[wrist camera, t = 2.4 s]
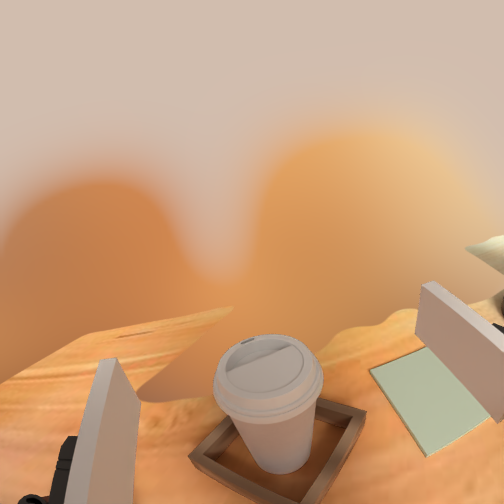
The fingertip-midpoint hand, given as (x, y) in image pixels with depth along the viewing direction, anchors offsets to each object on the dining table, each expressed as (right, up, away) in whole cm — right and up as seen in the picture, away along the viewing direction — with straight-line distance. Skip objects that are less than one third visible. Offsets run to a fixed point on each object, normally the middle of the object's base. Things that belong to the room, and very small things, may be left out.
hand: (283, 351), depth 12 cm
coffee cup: (+2, -19, +18) cm, 26 cm away
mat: (+24, -14, +20) cm, 35 cm away
